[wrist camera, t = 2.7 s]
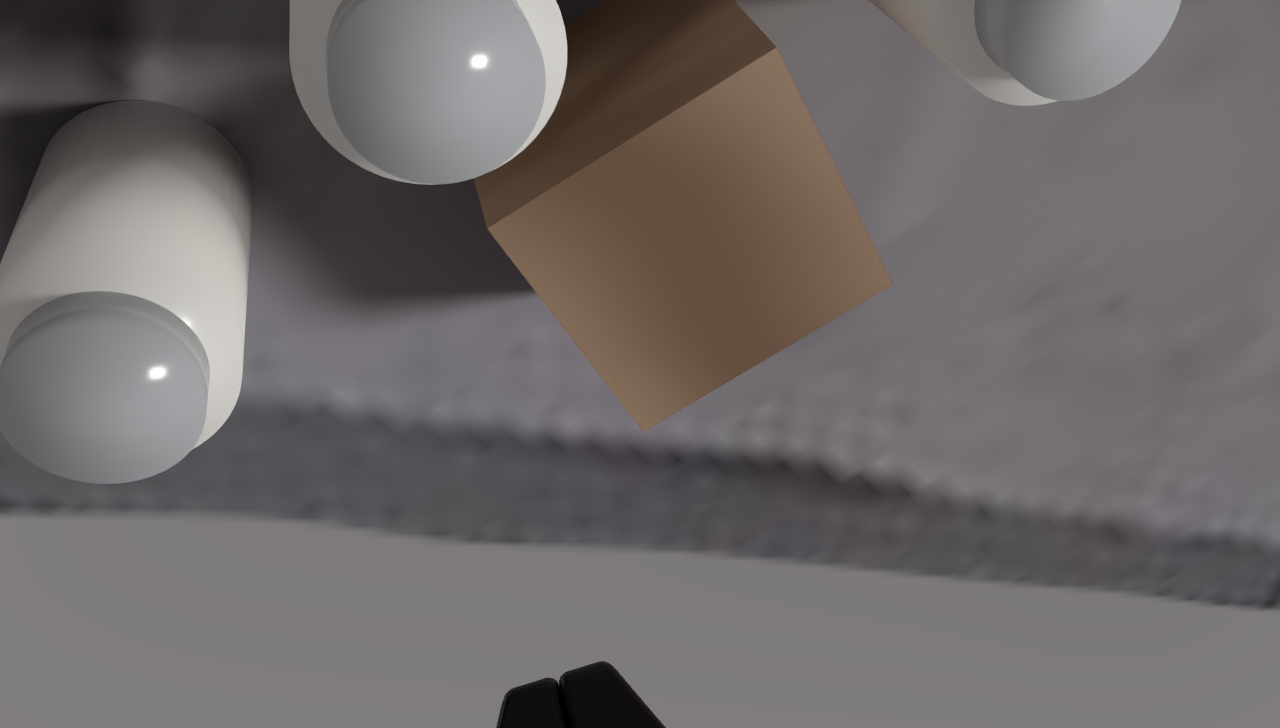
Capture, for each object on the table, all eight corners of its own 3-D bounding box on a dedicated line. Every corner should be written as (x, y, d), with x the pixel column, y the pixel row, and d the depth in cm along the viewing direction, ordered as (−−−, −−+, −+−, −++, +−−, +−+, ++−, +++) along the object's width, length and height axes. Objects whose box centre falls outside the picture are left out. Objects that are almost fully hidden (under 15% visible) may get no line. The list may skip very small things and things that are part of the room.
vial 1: (210, 79, 18) (182, 267, 13) (279, 252, 20) (274, 468, 15) (0, 128, 18) (-101, 339, 13) (91, 299, 20) (31, 534, 15)
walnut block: (684, -53, 19) (776, 47, 15) (793, 157, 21) (893, 283, 18) (451, 97, 19) (486, 228, 16) (586, 284, 22) (643, 431, 18)
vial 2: (480, -198, 17) (550, -93, 12) (526, 16, 19) (601, 177, 14) (259, -150, 16) (244, -23, 12) (329, 63, 18) (340, 243, 14)
